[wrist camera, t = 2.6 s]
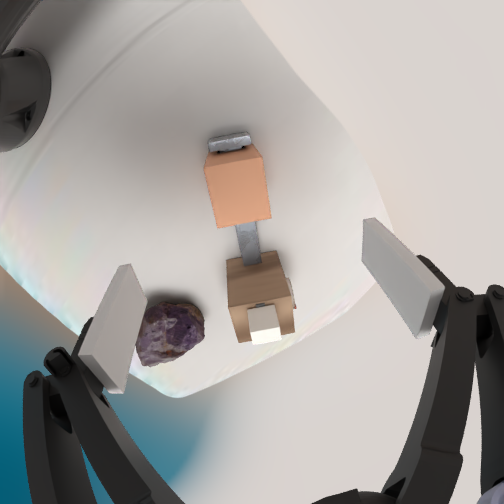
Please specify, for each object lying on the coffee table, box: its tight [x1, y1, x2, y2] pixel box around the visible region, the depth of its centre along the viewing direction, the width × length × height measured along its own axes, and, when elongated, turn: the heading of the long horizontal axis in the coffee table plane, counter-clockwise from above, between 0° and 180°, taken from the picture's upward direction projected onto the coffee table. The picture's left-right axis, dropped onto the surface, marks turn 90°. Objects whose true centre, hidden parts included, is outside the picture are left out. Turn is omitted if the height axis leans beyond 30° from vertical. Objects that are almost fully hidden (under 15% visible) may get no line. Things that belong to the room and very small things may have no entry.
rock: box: [135, 302, 205, 367], centre depth 40 cm, size 12×9×10 cm
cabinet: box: [226, 251, 296, 343], centre depth 36 cm, size 6×8×10 cm
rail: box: [208, 132, 262, 266], centre depth 33 cm, size 18×4×4 cm, turn 9°
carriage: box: [204, 143, 271, 228], centre depth 29 cm, size 6×5×9 cm
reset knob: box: [247, 305, 282, 345], centre depth 29 cm, size 2×3×4 cm, turn 99°
